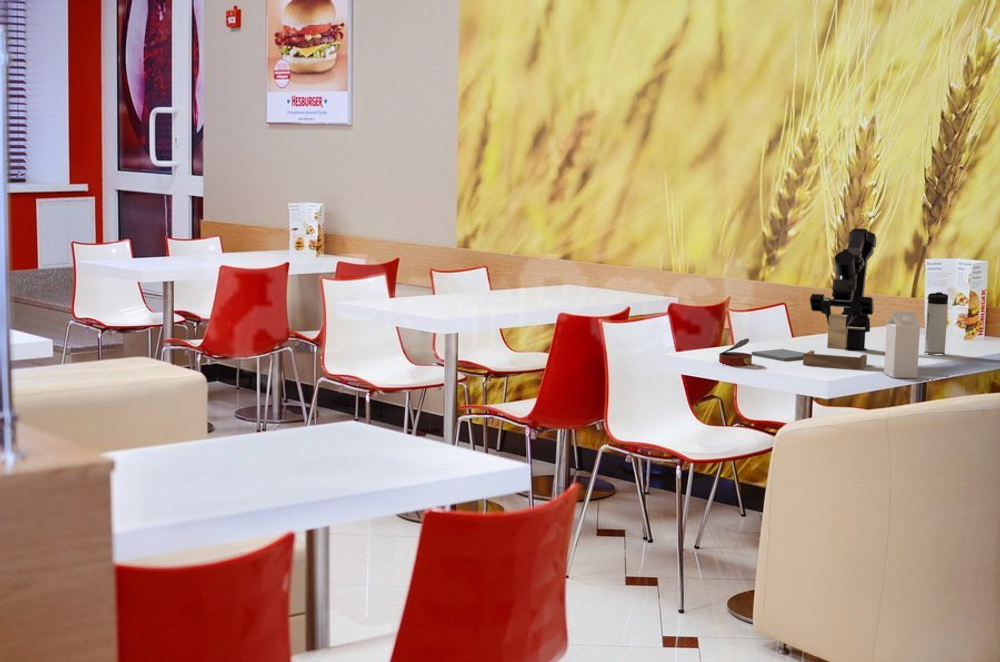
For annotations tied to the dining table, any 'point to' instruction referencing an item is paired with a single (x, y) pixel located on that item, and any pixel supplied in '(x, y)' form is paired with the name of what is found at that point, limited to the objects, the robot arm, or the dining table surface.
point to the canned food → (736, 356)
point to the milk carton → (902, 345)
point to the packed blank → (837, 331)
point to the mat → (780, 354)
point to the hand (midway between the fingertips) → (837, 325)
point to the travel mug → (936, 323)
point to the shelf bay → (834, 360)
